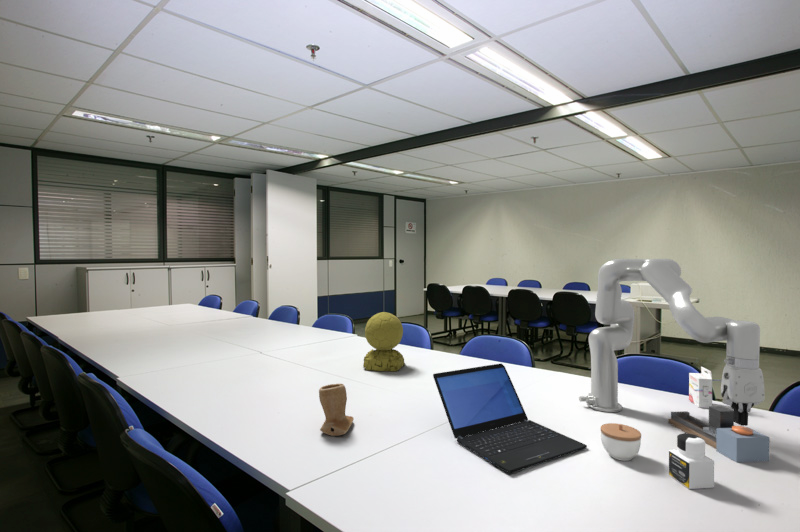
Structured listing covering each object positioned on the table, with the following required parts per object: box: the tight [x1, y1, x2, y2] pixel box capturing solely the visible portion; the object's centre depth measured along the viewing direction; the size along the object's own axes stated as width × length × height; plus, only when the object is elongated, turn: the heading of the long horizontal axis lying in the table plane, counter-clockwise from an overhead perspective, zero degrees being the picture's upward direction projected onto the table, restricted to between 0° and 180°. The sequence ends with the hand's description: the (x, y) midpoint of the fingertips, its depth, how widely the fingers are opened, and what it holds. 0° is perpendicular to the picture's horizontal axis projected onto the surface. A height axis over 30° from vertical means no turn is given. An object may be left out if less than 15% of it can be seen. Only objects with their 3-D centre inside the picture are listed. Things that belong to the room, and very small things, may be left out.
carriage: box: [703, 405, 735, 438], centre depth 130 cm, size 7×6×10 cm
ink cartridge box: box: [688, 366, 713, 409], centre depth 166 cm, size 9×5×15 cm, turn 168°
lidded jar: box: [600, 422, 642, 462], centre depth 123 cm, size 11×11×9 cm
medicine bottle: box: [668, 432, 715, 490], centre depth 108 cm, size 7×7×12 cm
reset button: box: [732, 425, 754, 436], centre depth 123 cm, size 5×5×4 cm
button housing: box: [715, 426, 770, 463], centre depth 123 cm, size 10×7×7 cm
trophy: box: [362, 311, 405, 372], centre depth 227 cm, size 22×22×30 cm
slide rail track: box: [667, 410, 716, 450], centre depth 137 cm, size 8×22×4 cm, turn 3°
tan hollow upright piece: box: [318, 383, 354, 437], centre depth 144 cm, size 15×12×15 cm
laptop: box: [432, 363, 588, 475], centre depth 136 cm, size 33×38×19 cm
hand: (740, 423), depth 123 cm, fingers closed
